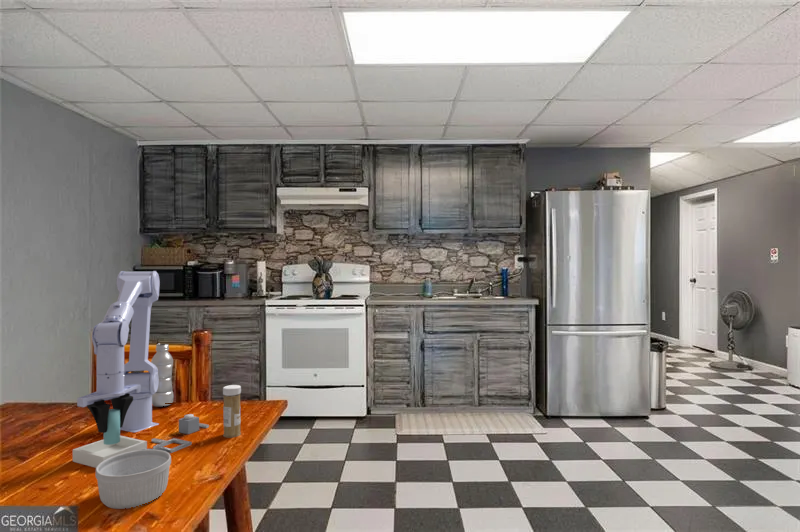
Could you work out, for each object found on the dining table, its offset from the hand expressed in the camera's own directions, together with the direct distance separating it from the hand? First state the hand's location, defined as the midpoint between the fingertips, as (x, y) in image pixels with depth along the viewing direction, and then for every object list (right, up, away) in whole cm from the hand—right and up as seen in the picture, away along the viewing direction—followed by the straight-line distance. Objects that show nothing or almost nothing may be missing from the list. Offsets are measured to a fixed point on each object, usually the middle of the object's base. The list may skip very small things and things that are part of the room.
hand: (110, 429), depth 118 cm
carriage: (+12, -6, +17) cm, 21 cm away
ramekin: (+16, -7, -20) cm, 26 cm away
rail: (+11, -7, +14) cm, 19 cm away
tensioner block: (+11, -7, +2) cm, 13 cm away
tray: (0, -7, 0) cm, 7 cm away
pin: (0, -3, 0) cm, 3 cm away
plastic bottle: (-8, -7, +42) cm, 44 cm away
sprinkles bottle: (+24, -7, +14) cm, 29 cm away
